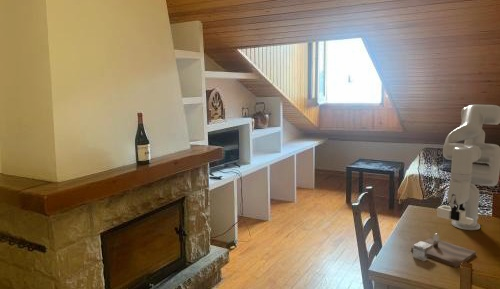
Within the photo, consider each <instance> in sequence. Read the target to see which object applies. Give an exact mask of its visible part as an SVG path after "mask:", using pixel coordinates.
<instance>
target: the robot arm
mask: <svg viewBox="0 0 500 289" xmlns="http://www.w3.org/2000/svg"><path fill="white" fill-rule="evenodd" d="M460 116H461V117H460V119H461V123H460V126H459V127H456V128H455V129H453V130H452V131H451V132H450V133H448V135H447V136H446V137H445V141H444V144H443V146H442V156H443V158H445V160H449V161H451V168H450V182H449V187H448V191H447V200H446V201H447V202H446V203H448V204H449V205H448V206H449V207H451V219H453V220H456V221H453V220H451V223H450V224H451V225H452V226H453V227H455V228H458V229H460V230H465V231H477V230H480V228H481V224H479V223H478V219H479V215H478V214H479V205H480V204H479V203H480V202H479V201H480V195H481V194H480V191H479V188H477V186H476V185H479V186H486V187H495V186H497V185H498V183H499V178H500V146H499V145H498V144H495V143H485V140H486V139H485V138H486V132H485V131H484V129H483V125H497V126H498V125H499V124H500V105H496V104H469V105H467V106H465V107H463V108H462V109H461V112H460ZM461 141H462V142H463V141H464V143H462V142H461ZM474 163H481V164H474ZM482 164H483V165H482ZM484 164H487V165H484ZM459 210H463V211H466V213H465V217H468V218H472V219H474V223H472V224H470V225H468V224H464V223H461V222H457V221H458V220H459V214H460V212H459Z"/></svg>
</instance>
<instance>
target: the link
mask: <svg viewBox="0 0 500 289" xmlns="http://www.w3.org/2000/svg"><path fill="white" fill-rule="evenodd" d="M436 210H437V213H436V217H437V218H442V219H443V220H451V221H452V220H453V219H451V207H450V206H449V205H446V204H443V205H440V206H438V207H437V209H436ZM459 212H460V214H459V220H458V221H457V222H461V223H464V224H468V225H470V224H472V223H474V219H472V218H468V217H465V213H466V211H463V210H459ZM453 221H456V220H453Z"/></svg>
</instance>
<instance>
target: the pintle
mask: <svg viewBox="0 0 500 289" xmlns="http://www.w3.org/2000/svg"><path fill="white" fill-rule="evenodd" d="M433 238H434V240H433V247H438V243H439V240H440V234H439V233H434V234H433Z"/></svg>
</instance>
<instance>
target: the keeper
mask: <svg viewBox="0 0 500 289" xmlns="http://www.w3.org/2000/svg"><path fill="white" fill-rule="evenodd" d="M423 241H424V240H423ZM423 241H422V240H419V241H418V242H416V243H414V244H413V245H412V247H413V251H412V258H413V259H416V260H420V261H422V262H426V261H427V260H428V259H427V258H428V257H427V251H428V250H430V249H432V246H433V245H432V244H429V243H426V242H423Z"/></svg>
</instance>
